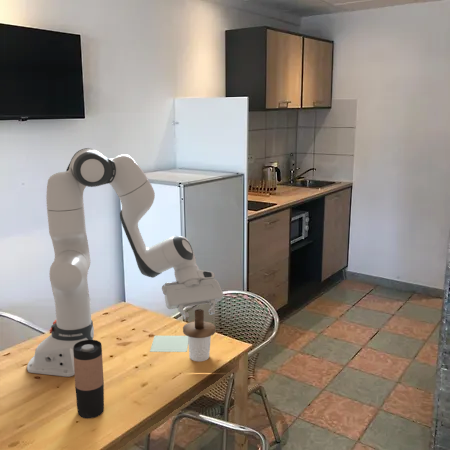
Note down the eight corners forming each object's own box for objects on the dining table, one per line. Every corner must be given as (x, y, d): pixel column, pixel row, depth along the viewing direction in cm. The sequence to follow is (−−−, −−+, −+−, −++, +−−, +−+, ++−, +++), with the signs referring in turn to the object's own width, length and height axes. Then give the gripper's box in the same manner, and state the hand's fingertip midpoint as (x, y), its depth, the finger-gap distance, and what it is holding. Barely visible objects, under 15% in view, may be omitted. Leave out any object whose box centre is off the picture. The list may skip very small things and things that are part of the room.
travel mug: (83, 402, 145) (80, 338, 140) (109, 404, 144) (106, 340, 139) (72, 418, 137) (67, 350, 133) (98, 420, 136) (95, 352, 132)
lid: (182, 338, 164) (181, 317, 163) (184, 324, 175) (183, 304, 173) (215, 338, 164) (215, 317, 163) (215, 324, 175) (215, 305, 174)
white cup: (207, 364, 167) (207, 336, 165) (185, 362, 169) (184, 334, 167) (213, 353, 175) (213, 327, 173) (191, 351, 176) (191, 325, 174)
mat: (149, 352, 175) (149, 351, 175) (154, 336, 188) (154, 335, 188) (186, 353, 175) (186, 351, 175) (189, 337, 188) (189, 335, 188)
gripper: (162, 279, 168) (172, 317, 161) (218, 271, 176) (229, 307, 170) (158, 287, 173) (168, 324, 166) (212, 280, 181) (224, 315, 175)
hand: (199, 316), depth 168 cm, fingers open, 8 cm apart
